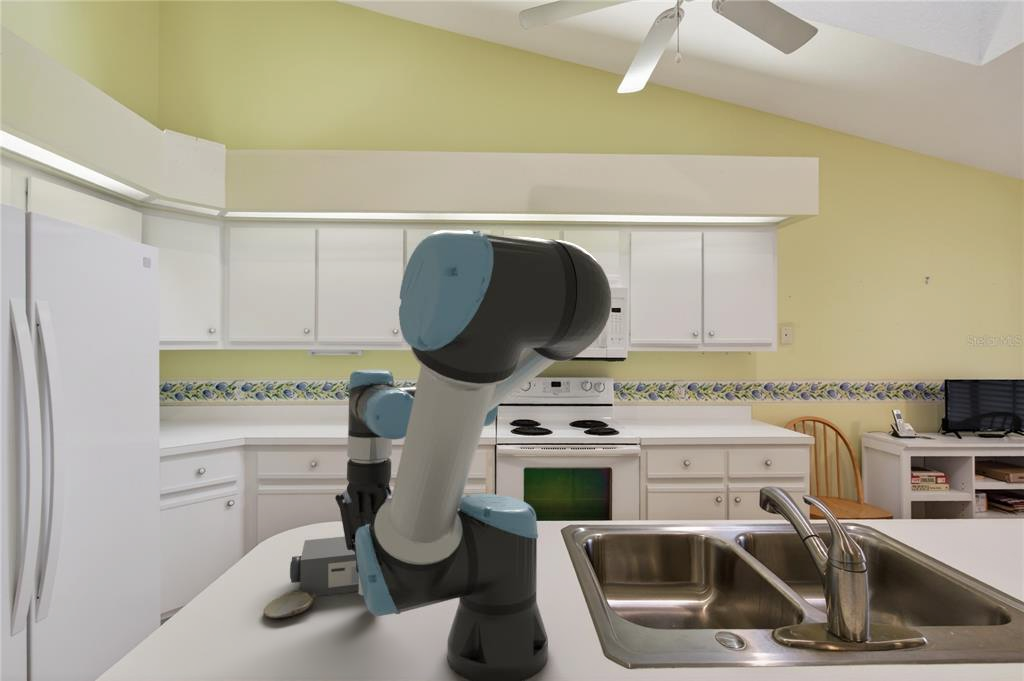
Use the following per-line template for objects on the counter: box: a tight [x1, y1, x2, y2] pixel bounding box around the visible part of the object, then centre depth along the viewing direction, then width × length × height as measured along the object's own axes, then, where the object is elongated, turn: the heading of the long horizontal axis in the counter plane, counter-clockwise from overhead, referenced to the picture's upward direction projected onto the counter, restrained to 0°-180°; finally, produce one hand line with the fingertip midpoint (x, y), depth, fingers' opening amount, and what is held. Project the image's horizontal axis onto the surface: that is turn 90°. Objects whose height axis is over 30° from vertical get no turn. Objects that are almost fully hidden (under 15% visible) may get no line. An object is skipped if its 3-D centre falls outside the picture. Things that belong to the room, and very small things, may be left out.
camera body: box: [289, 535, 359, 598], centre depth 106 cm, size 10×18×8 cm, turn 106°
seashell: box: [263, 590, 316, 619], centre depth 95 cm, size 8×3×8 cm
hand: (366, 591), depth 96 cm, fingers closed
